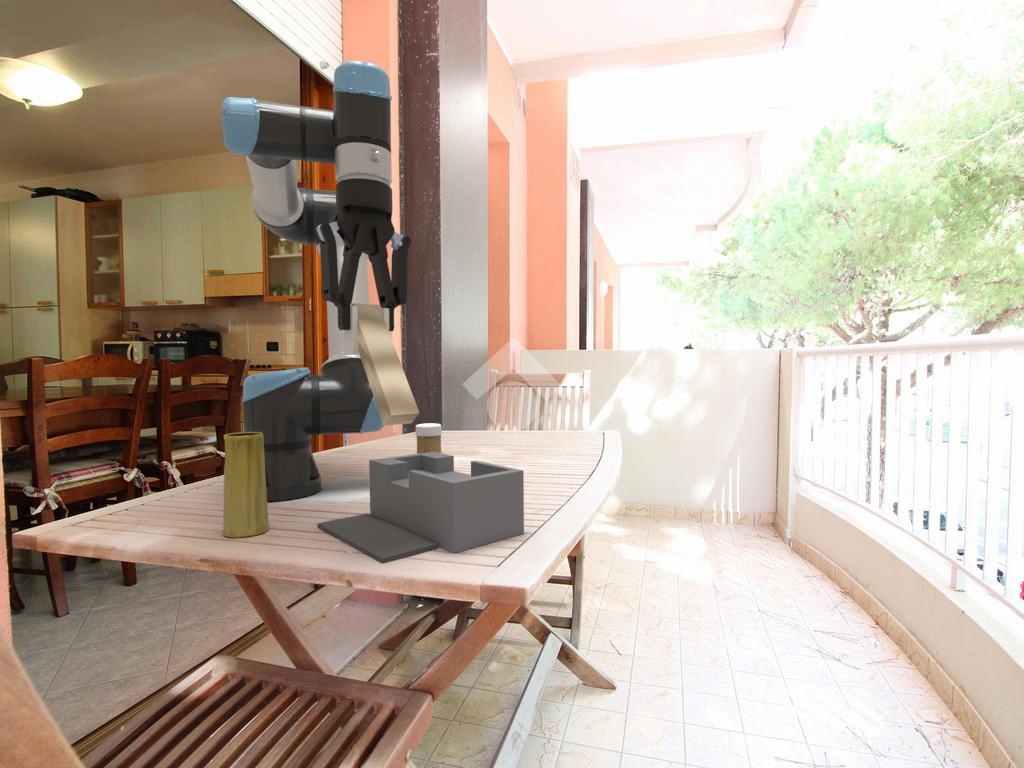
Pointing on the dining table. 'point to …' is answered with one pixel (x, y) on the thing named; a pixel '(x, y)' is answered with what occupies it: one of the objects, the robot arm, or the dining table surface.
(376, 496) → the pocket block
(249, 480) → the vase
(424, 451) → the sprinkles bottle
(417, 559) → the dining table surface
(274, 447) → the robot arm
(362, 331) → the birch bar
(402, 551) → the rubber mat
